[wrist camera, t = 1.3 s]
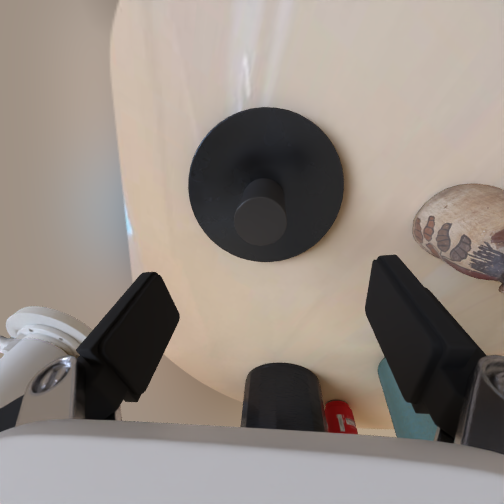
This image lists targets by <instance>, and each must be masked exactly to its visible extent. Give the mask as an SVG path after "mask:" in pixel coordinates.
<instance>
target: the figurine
mask: <svg viewBox="0 0 504 504" xmlns="http://www.w3.org/2000/svg"><path fill="white" fill-rule="evenodd" d="M413 236H414V238H415V240H416V242H417V243H418V244H419V245H420V246H421V247H422V248H423V249H425V250H426V251H427V252H429V253H430V254H432V255H433V256H436V257H438V258H440V259H442V260H443V261H444V262H446V263H447V264H449V265H450V266H452V267H453V268H454V269H456V270H457V271H459V272H461V273H464V274H466V275H469V276H471V277H474V278H478V279H484V280H495V281H499V282H501V283H502V285H501V286H500V287H499V291H500V292H502V293H504V190H502V189H500V188H497V187H493V186H489V185H482V184H463V185H457V186H454V187H450V188H447V189H445V190H443V191H442V192H440V193H438V194H437V195H435V196H434V197H432V198H431V199H430V200H429V201H427V202H426V203H425V204H424V205H423V207H422V208H421V209H420V210H419V212H418V213H417V215H416V217H415V218H414V222H413Z"/></svg>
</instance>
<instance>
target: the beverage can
mask: <svg viewBox="0 0 504 504" xmlns="http://www.w3.org/2000/svg"><path fill="white" fill-rule="evenodd" d="M325 406H326V407H325V417H326V423H327V429H328V433H343V434H358V432H357V428H356V425H355V421H354V417H353V413H352V410H351V409H350V407H349V406H348V404H347V403H346V402H344V401H340V400H333V401H329V402H327V403H326V405H325Z"/></svg>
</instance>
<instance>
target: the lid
mask: <svg viewBox="0 0 504 504" xmlns="http://www.w3.org/2000/svg"><path fill="white" fill-rule="evenodd" d="M188 190H189V198H190V202H191V206H192V210H193V212H194V215H195V217H196V219H197V221H198V223H199V225H200V226H201V228H202V229H203V231H204V232H205V233H206V234H207V236H208V237H209V238H210V239H211V240H212V241H213V242H214V243H215V244H217V245H218V246H219V247H221V248H222V249H223V250H225V251H227V252H229V253H230V254H233V255H235V256H237V257H240V258H243V259H246V260H251V261H258V262H274V261H281V260H285V259H289V258H291V257H294V256H297V255H299V254H301V253H303V252H305V251H306V250H308V249H309V248H311V247H312V246H314V245H315V244H316V243H317V242H318V241H319V240H320V239H321V238H322V237H323V236H324V235H325V234H326V233H327V231H328V230H329V229H330V227H331V226H332V224H333V222H334V221H335V219H336V217H337V214H338V212H339V210H340V206H341V202H342V198H343V190H344V178H343V171H342V166H341V162H340V159H339V156H338V154H337V152H336V150H335V148H334V146H333V144H332V143H331V141H330V140H329V138H328V137H327V136H326V135H325V134H324V132H323V131H322V130H321V129H320V128H319V127H318V126H316V125H315V124H314V123H313V122H311V121H310V120H308V119H307V118H305V117H303V116H301V115H299V114H297V113H294V112H291V111H289V110H285V109H280V108H270V107H261V108H253V109H248V110H245V111H241V112H238V113H236V114H234V115H232V116H230V117H228V118H226V119H225V120H223V121H222V122H220V123H219V124H218V125H216V126H215V127H214V128H213V129H212V130H211V131H210V132H209V133H208V134H207V135H206V137H205V138H204V139H203V140H202V142H201V144H200V145H199V147H198V149H197V151H196V153H195V155H194V157H193V160H192V164H191V167H190V173H189V186H188Z"/></svg>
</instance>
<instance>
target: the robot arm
mask: <svg viewBox="0 0 504 504" xmlns="http://www.w3.org/2000/svg"><path fill="white" fill-rule="evenodd" d="M365 312H366V316H367V318H368V320H369V322H370V325H371V327H372V329H373V331H374V334H375V336H376V338H377V340H378V343H379V345H380V347H381V349H382V351H383V354H384V356H385V358H386V360H387V363H388V365H389V367H390V369H391V372H392V374H393V376H394V378H395V381H396V383H397V385H398V387H399V390H400V392H401V394H402V396H403V398H404V400H405V401H406V402H408V403H411V404H412V407H413V409H414V411H415V413H417V414H430V416H431V418H432V420H433V422H434V424H435V425H436V426H437V430H436V433H435V437H434V441H430V440H421V439H409V438H396V437H384V436H383V437H382V436H371V435H359V434H343V433H327V432H311V431H295V430H279V429H262V428H245V427H227V426H210V425H192V424H174V423H154V422H135V421H122V417H121V407H120V404H121V403H122V401H123V400H125V402H138V400H139V398H140V396H141V394H142V393H144V391H146V389H147V387H148V385H149V383H150V381H151V378H152V376H153V374H154V372H155V370H156V368H157V366H158V364H159V362H160V360H161V358H162V355H163V353H164V351H165V349H166V347H167V345H168V343H169V341H170V339H171V337H172V334H173V332H174V330H175V328H176V326H177V324H178V322H179V318H180V316H179V312H178V310H177V308H176V306H175V304H174V302H173V300H172V298H171V296H170V294H169V292H168V289H167V287H166V285H165V283H164V281H163V279H162V277H161V276H160V275H158V274H157V273H156V272H146V273H142V274H141V275H140V276H139V277H138V278H137V279H136V280H135V282H134V283H133V284H132V285H131V286H130V288H129V289H128V290H127V291H126V292H125V293H124V295H123V296H122V297H121V298H120V299H119V300H118V301H117V303H116V304H115V305H114V306H113V307H112V308H111V310H110V311H109V312H108V313H107V314H106V315H105V317H104V318H103V319H102V320H101V321H100V322H99V324H98V325H97V326H96V327H95V328H94V330H93V331H92V332H91V333H90V334H89V335H88V336H87V338H86V339H85V340H84V341H83V342H82V343H81V345H80V343H79V342H78V341H76V340H75V339H74V338H73V337H71V336H70V335H68V334H66V333H65V332H63V331H60V330H58V329H56V328H53V327H50V326H46V325H40V324H30V325H26V326H24V327H23V328H22V329H20V330H19V331H18V333H17V337H16V338H14V337H11V338H5V337H4V336H0V352H1V353H4V356H3V357H2V358H1V359H0V504H504V356H498V355H491V356H486V355H485V353H484V352H483V351H482V350H481V349H480V348H479V346H478V345H477V344H476V343H475V342H474V341H473V340H472V338H471V337H470V336H469V335H468V334H467V333H466V332H465V330H464V329H463V328H462V327H461V326H460V325H459V324H458V322H457V321H456V320H455V319H454V318H453V317H452V316H451V314H450V313H449V312H448V311H447V310H446V309H445V307H444V306H443V305H442V304H441V303H440V302H439V301H438V299H437V298H436V297H435V296H434V295H433V294H432V293H431V291H429V290H428V289H427V288H425V287H424V286H423V285H422V284H421V283H420V282H419V280H418V279H417V278H416V277H415V276H414V275H413V273H412V272H411V271H410V270H409V269H408V268H407V266H406V265H405V264H404V263H403V262H402V261H401V259H400V258H399V257H398V256H397V255H384V256H379V257H378V258H377V260H374V261H373V263H372V269H371V275H370V281H369V287H368V293H367V299H366V305H365Z"/></svg>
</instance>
